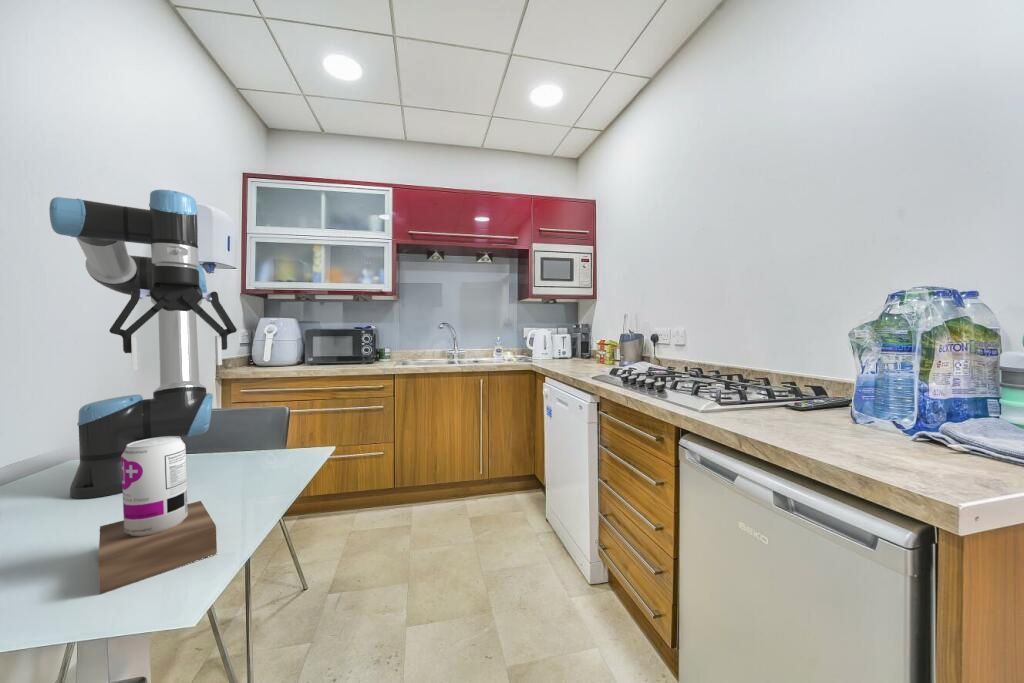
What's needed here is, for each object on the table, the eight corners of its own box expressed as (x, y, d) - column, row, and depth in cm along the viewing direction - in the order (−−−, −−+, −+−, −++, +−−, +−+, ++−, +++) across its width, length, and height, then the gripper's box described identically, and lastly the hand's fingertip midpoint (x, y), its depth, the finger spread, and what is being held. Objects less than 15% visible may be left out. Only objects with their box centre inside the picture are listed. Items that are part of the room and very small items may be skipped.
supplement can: (133, 543, 62) (130, 450, 62) (118, 530, 66) (115, 444, 66) (195, 521, 69) (192, 438, 69) (177, 511, 73) (175, 433, 73)
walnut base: (101, 554, 68) (100, 526, 68) (201, 525, 78) (200, 500, 78) (99, 594, 57) (98, 561, 57) (216, 554, 67) (216, 525, 67)
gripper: (87, 257, 70) (92, 373, 71) (250, 271, 88) (252, 363, 89) (89, 262, 75) (93, 370, 76) (242, 274, 93) (244, 362, 94)
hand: (179, 367), depth 82 cm, fingers open, 13 cm apart
